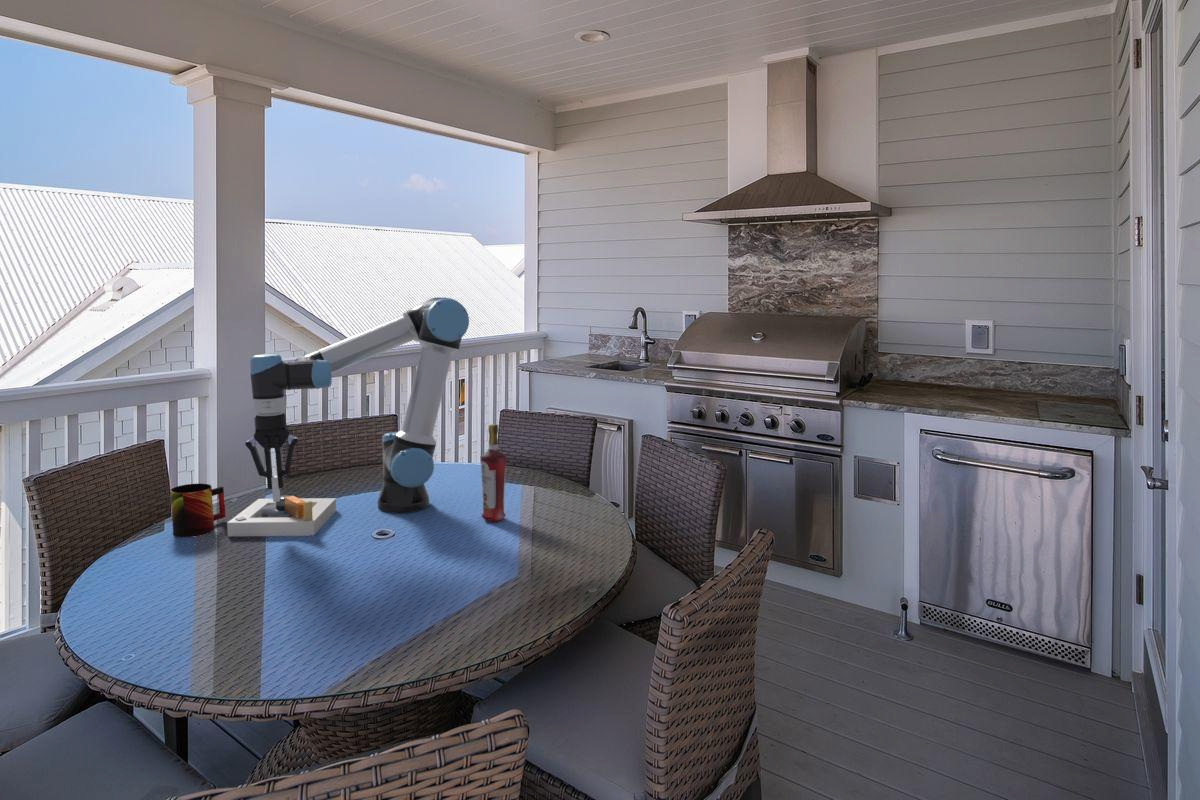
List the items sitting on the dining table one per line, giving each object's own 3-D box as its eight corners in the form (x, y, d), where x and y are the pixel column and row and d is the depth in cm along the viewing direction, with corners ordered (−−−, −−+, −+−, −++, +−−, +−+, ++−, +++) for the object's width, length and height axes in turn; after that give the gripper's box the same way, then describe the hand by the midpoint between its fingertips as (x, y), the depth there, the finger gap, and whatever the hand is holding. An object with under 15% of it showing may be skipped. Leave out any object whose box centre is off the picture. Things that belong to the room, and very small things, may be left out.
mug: (226, 520, 202) (223, 479, 201) (205, 537, 189) (202, 493, 187) (190, 521, 201) (187, 479, 200) (166, 537, 188) (163, 493, 186)
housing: (336, 510, 213) (335, 481, 212) (313, 535, 191) (312, 503, 190) (259, 511, 211) (258, 482, 210) (228, 536, 189) (226, 504, 188)
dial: (254, 514, 201) (253, 493, 200) (296, 505, 209) (295, 485, 208) (280, 529, 189) (279, 507, 188) (323, 519, 198) (323, 498, 197)
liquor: (475, 519, 207) (475, 424, 203) (495, 514, 213) (495, 421, 208) (491, 525, 202) (491, 428, 198) (511, 520, 208) (511, 425, 203)
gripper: (240, 417, 182) (248, 506, 186) (295, 414, 186) (302, 501, 190) (244, 412, 189) (251, 498, 193) (297, 409, 193) (304, 493, 197)
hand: (276, 500), depth 191 cm, fingers closed
